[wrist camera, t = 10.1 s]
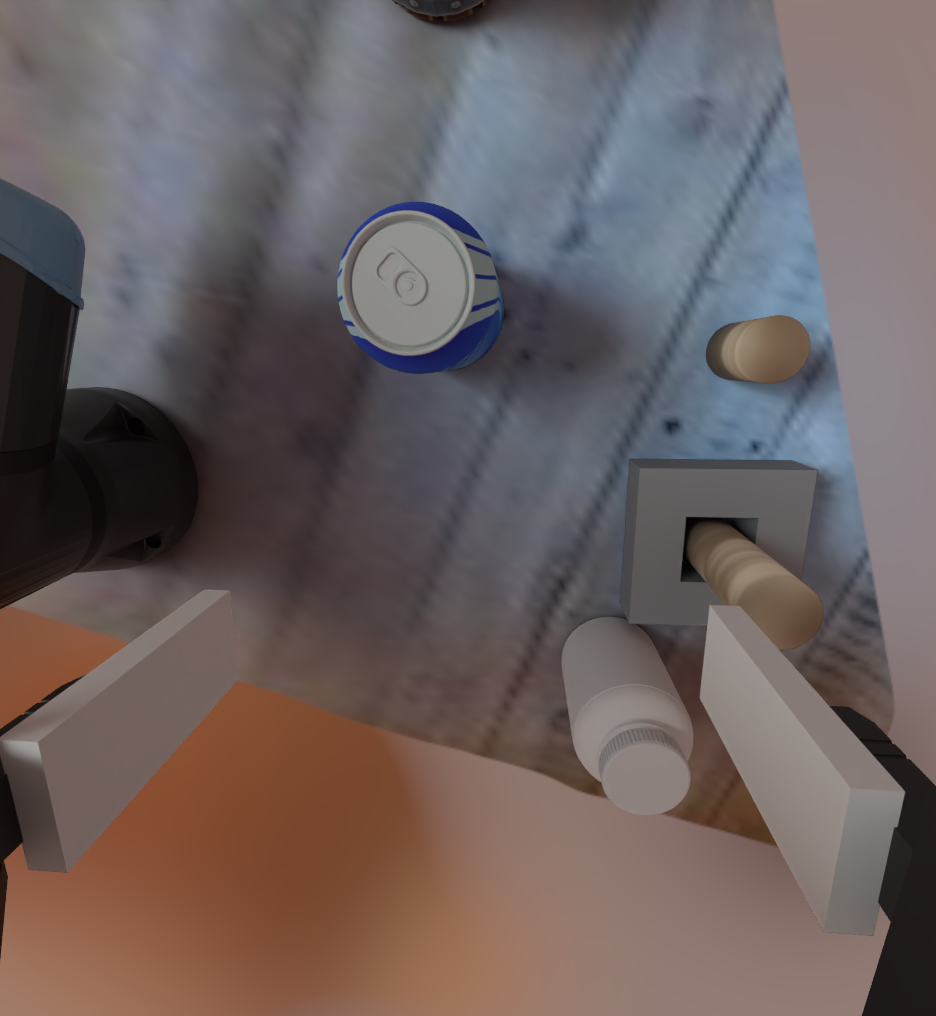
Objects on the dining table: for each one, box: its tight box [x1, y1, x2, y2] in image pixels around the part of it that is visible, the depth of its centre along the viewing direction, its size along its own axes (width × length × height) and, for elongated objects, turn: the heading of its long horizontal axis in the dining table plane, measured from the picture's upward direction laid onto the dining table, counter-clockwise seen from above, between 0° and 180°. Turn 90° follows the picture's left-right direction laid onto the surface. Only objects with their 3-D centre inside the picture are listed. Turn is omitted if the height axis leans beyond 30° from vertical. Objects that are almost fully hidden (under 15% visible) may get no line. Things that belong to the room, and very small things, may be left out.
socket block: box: [620, 459, 818, 626], centre depth 43 cm, size 12×12×4 cm
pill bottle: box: [561, 617, 693, 816], centre depth 41 cm, size 8×8×15 cm
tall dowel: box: [683, 517, 824, 650], centre depth 38 cm, size 4×4×15 cm
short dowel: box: [706, 315, 810, 383], centre depth 38 cm, size 4×4×7 cm
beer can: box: [337, 202, 504, 374], centre depth 35 cm, size 8×8×16 cm
